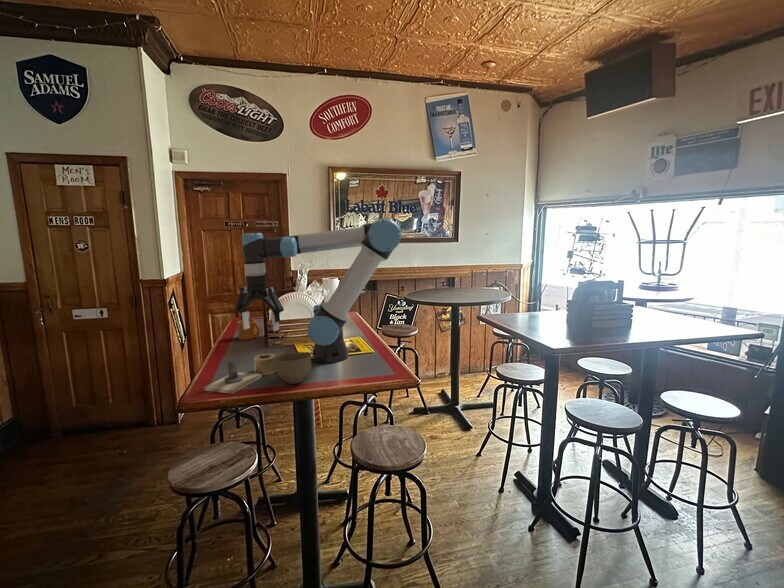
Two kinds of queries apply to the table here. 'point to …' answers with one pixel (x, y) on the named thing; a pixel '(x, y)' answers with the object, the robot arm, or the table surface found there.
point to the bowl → (293, 366)
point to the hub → (232, 380)
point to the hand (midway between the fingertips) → (261, 329)
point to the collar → (265, 364)
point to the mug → (248, 330)
